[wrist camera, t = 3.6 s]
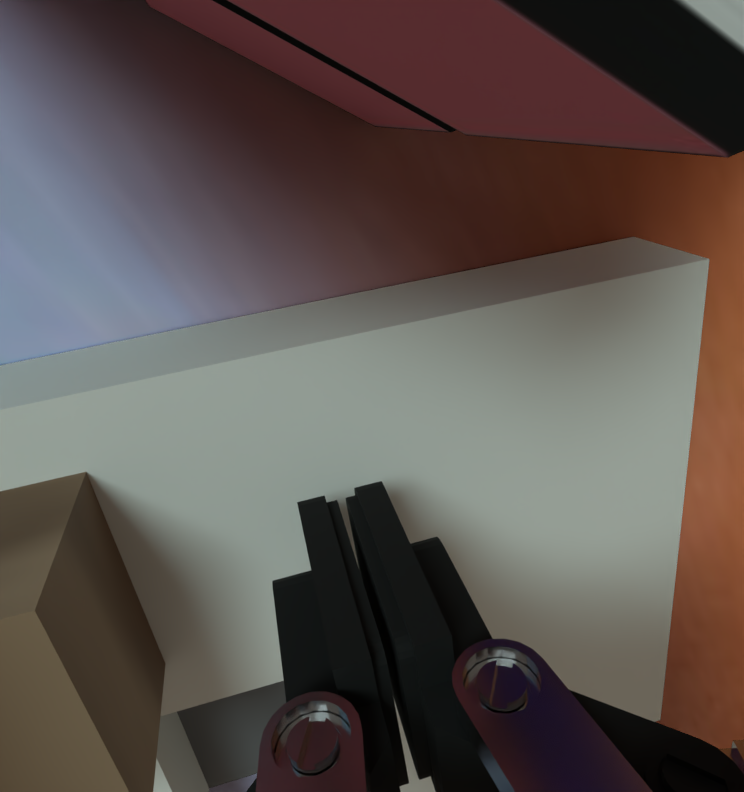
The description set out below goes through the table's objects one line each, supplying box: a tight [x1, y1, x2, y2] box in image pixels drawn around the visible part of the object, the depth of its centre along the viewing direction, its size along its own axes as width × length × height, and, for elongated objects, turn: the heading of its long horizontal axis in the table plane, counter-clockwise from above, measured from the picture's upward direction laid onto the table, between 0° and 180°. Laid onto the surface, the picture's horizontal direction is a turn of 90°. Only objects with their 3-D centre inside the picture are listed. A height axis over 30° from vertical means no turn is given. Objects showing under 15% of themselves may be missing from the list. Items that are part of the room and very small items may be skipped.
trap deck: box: [0, 237, 709, 792], centre depth 13 cm, size 25×14×6 cm, turn 98°
